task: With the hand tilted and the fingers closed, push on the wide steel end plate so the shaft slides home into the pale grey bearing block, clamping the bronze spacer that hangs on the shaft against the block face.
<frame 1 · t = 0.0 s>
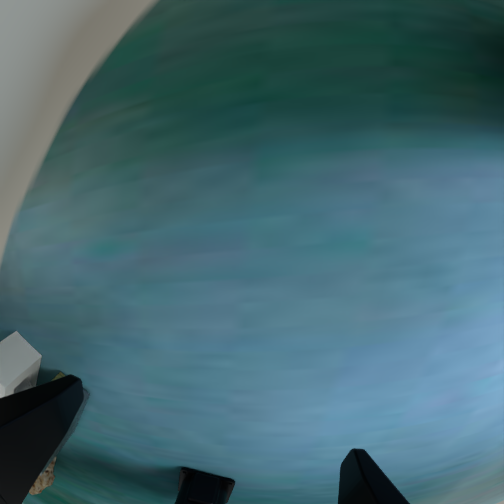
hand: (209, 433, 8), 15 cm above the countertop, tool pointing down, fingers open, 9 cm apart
rock: (29, 445, 35), on the countertop
shaft: (30, 411, 24), point 5 cm above the countertop, slide at 0.0 cm, touching spacer
block: (25, 362, 28), on the countertop
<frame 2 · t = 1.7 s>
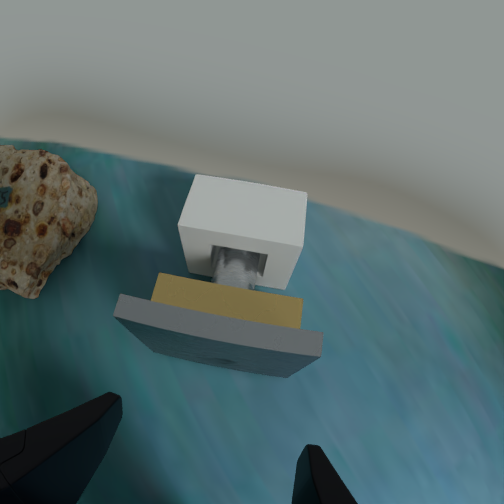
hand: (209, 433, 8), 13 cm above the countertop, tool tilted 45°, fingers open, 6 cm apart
rock: (15, 236, 26), on the countertop
shaft: (231, 284, 20), point 5 cm above the countertop, slide at 0.0 cm, touching spacer
spacer: (227, 328, 24), touching shaft
block: (241, 257, 27), on the countertop
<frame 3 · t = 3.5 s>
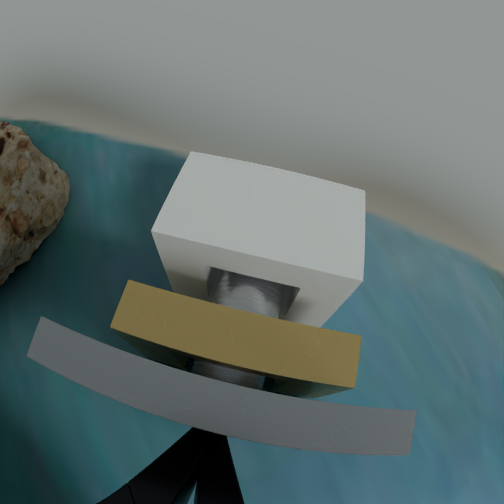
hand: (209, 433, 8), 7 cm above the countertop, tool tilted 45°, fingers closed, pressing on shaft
shaft: (244, 306, 12), point 5 cm above the countertop, slide at 1.3 cm, touching gripper, spacer
spacer: (233, 364, 16), touching shaft
block: (253, 281, 18), on the countertop
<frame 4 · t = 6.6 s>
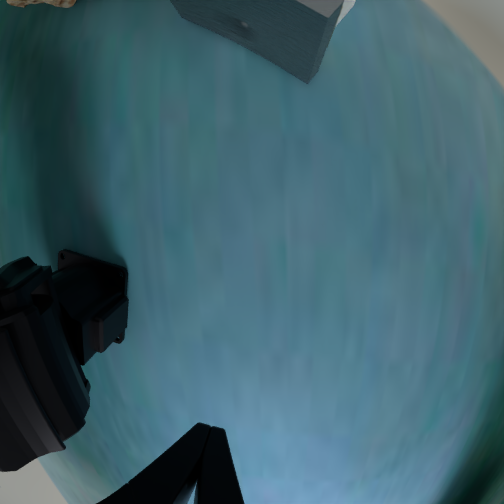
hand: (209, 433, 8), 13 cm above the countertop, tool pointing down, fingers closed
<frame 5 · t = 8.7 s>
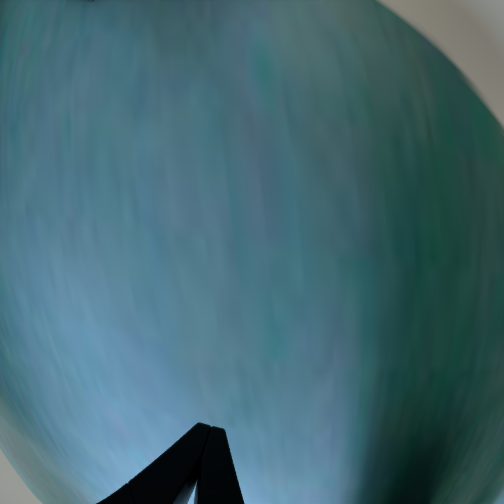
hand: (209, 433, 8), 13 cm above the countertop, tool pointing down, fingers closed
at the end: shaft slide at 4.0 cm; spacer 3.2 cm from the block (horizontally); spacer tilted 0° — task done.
